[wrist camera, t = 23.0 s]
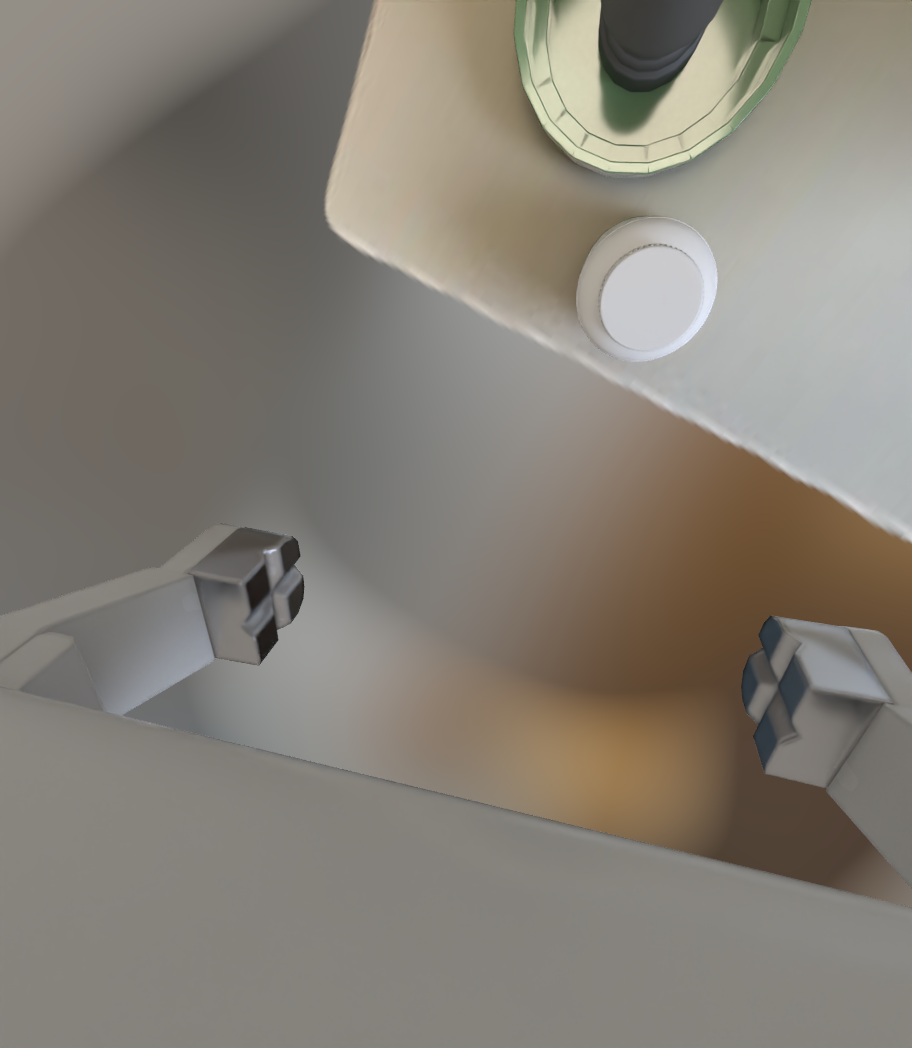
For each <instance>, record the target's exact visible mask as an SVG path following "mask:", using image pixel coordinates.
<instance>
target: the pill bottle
mask: <svg viewBox="0 0 912 1048" xmlns="http://www.w3.org/2000/svg"><path fill="white" fill-rule="evenodd" d="M717 284H718V274H717V266H716V262H715V258H714V255H713V253H712V251H711V249H710V247H709V245H708V243H707V242H706V241H705V239H704V238H703V237H702V236H701V235H700V234H699V233H698V232H697V231H696V230H695V229H694V228H692V227H691V226H689V225H688V224H686V223H684V222H682V221H679V220H676V219H673V218H668V217H661V216H641V217H634V218H630V219H627V220H624V221H622V222H620V223H618V224H616V225H614V226H613V227H611V228H610V229H609V230H607V231H606V232H605V233H604V234H603V235H602V236H601V237H600V238H599V239H598V240H597V242H596V243H595V244H594V246H593V247H592V249H591V251H590V252H589V254H588V256H587V259H586V261H585V263H584V266H583V268H582V271H581V273H580V277H579V280H578V285H577V292H576V306H577V313H578V317H579V321H580V323H581V326H582V328H583V330H584V332H585V334H586V335H587V337H588V338H589V339H590V341H591V342H592V343H593V344H594V345H595V346H596V347H597V348H598V349H600V350H601V351H603V352H604V353H606V354H608V355H610V356H612V357H614V358H617V359H620V360H625V361H633V362H641V361H649V360H654V359H658V358H661V357H663V356H666V355H668V354H670V353H672V352H674V351H676V350H677V349H679V348H680V347H682V346H683V345H684V344H686V343H687V342H688V341H689V340H690V339H691V338H692V337H693V336H694V335H695V334H696V333H697V332H698V331H699V330H700V328H701V327H702V325H703V324H704V322H705V321H706V319H707V317H708V316H709V314H710V311H711V309H712V307H713V304H714V301H715V297H716V292H717Z"/></svg>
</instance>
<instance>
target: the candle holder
mask: <svg viewBox="0 0 912 1048" xmlns="http://www.w3.org/2000/svg"><path fill="white" fill-rule="evenodd" d="M722 2H723V0H601V12H600V21H599V30H598V46H599V50H600V55H601V60H602V65H603V68H604V69H605V71H606V72H607V74H608V75H609V76H610V78H611V79H612V81H613V82H614V84H616V85H618V86H620V87H622V88H624V89H626V90H628V91H630V92H650V91H652V90H654V89H656V88H659V87H661V86H663V85H665V84H667V83H669V82H670V81H671V80H672V79H673V78H674V77H675V76H676V75H677V74H678V73H679V72H680V71H681V70H682V69H683V68H684V67H685V66H686V65H687V63H688V61H689V60H690V58H691V56H692V55H693V53H694V52H695V50H696V48H697V46H698V44H699V42H700V40H701V38H702V36H703V34H704V32H705V30H706V28H707V26H708V24H709V23H710V22H711V21H712V20H713V19H714V17H715V15H716V13H717V11H718V10H719V8H720V6H721V4H722Z"/></svg>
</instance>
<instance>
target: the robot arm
mask: <svg viewBox="0 0 912 1048" xmlns="http://www.w3.org/2000/svg"><path fill="white" fill-rule="evenodd" d="M299 557H300V551H299V545H298V541H297V540H296V539H295V538H294V537H293V536H289V535H284V534H278V533H273V532H268V531H262V530H257V529H252V528H246V527H245V528H243V527H241V526H234V525H228V524H222V523H221V524H214V525H212V526H211V527H210V528H208V529H207V530H206V531H205V532H203V533H202V534H201V535H200V536H198V537H197V538H196V539H195V540H193V541H192V542H191V543H190V544H188V545H187V546H186V547H185V548H183V549H182V550H181V551H180V552H178V553H177V554H176V555H175V556H173V557H172V558H171V559H170V560H168V561H167V562H166V563H165V564H163V565H162V566H161V567H160V568H158V569H157V568H151V567H150V568H147V569H144V570H140V571H138V572H134V573H131V574H128V575H125V576H122V577H119V578H116V579H112V580H109V581H106V582H103V583H100V584H97V585H94V586H91V587H88V588H84V589H81V590H78V591H75V592H72V593H69V594H66V595H63V596H60V597H56V598H54V599H50V600H47V601H44V602H41V603H38V604H35V605H32V606H28V607H25V608H22V609H19V610H16V611H13V612H10V613H7V614H4V615H1V616H0V1048H912V907H908V906H903V905H899V904H896V903H891V902H887V901H883V900H879V899H875V898H871V897H866V896H863V895H858V894H854V893H850V892H846V891H842V890H838V889H834V888H830V887H826V886H821V885H818V884H813V883H809V882H805V881H801V880H797V879H793V878H789V877H785V876H781V875H776V874H772V873H768V872H764V871H760V870H756V869H752V868H747V867H743V866H739V865H735V864H731V863H727V862H723V861H719V860H715V859H710V858H706V857H702V856H698V855H694V854H690V853H686V852H682V851H678V850H673V849H669V848H665V847H661V846H657V845H653V844H649V843H645V842H640V841H636V840H632V839H628V838H624V837H620V836H616V835H612V834H607V833H603V832H599V831H595V830H591V829H587V828H582V827H579V826H574V825H570V824H566V823H562V822H558V821H554V820H550V819H545V818H541V817H537V816H533V815H529V814H525V813H521V812H517V811H513V810H508V809H504V808H500V807H496V806H492V805H488V804H484V803H480V802H476V801H471V800H467V799H463V798H459V797H454V796H451V795H446V794H443V793H438V792H434V791H430V790H426V789H422V788H418V787H413V786H409V785H405V784H401V783H397V782H393V781H389V780H385V779H381V778H377V777H372V776H368V775H364V774H360V773H356V772H352V771H348V770H344V769H339V768H335V767H331V766H327V765H323V764H319V763H315V762H311V761H306V760H302V759H298V758H294V757H290V756H286V755H282V754H277V753H273V752H269V751H265V750H261V749H257V748H253V747H249V746H245V745H241V744H236V743H232V742H228V741H224V740H220V739H215V738H212V737H207V736H203V735H199V734H195V733H191V732H187V731H183V730H178V729H175V728H170V727H166V726H162V725H158V724H154V723H149V722H145V721H141V720H137V719H133V718H129V717H125V716H121V715H123V714H125V713H126V712H128V711H130V710H132V709H133V708H135V707H137V706H138V705H140V704H142V703H143V702H145V701H147V700H148V699H150V698H152V697H153V696H155V695H157V694H159V693H160V692H162V691H164V690H165V689H167V688H169V687H170V686H172V685H174V684H176V683H177V682H179V681H180V680H182V679H184V678H186V677H187V676H189V675H191V674H192V673H194V672H196V671H197V670H199V669H201V668H202V667H204V666H206V665H208V664H209V663H211V662H213V661H214V660H215V658H220V659H225V660H230V661H236V662H242V663H247V664H253V665H258V666H259V665H260V664H261V662H262V661H263V660H264V658H265V657H266V656H267V654H268V653H269V652H270V651H271V649H272V648H273V647H274V645H275V644H276V643H277V641H278V635H277V630H278V629H280V628H283V627H285V626H287V625H289V624H290V623H291V622H292V621H293V620H294V618H295V617H296V615H297V614H298V612H299V609H300V606H301V604H302V601H303V595H304V580H303V575H302V574H301V573H300V571H299V570H298V569H297V568H296V566H295V565H294V564H295V563H296V561H297V560H298V559H299ZM759 638H760V640H761V643H762V646H763V648H761V649H760V650H758V651H756V652H754V653H753V654H751V655H750V656H749V658H748V660H747V663H746V666H745V668H744V670H743V678H742V686H741V688H742V699H743V703H744V707H745V711H746V713H747V714H748V715H749V716H750V717H751V718H752V719H753V720H754V721H755V722H756V723H757V724H758V727H757V729H756V731H755V733H754V735H753V738H754V740H755V744H756V747H757V750H758V754H759V757H760V760H761V764H762V767H763V770H764V773H765V774H769V775H773V776H778V777H782V778H786V779H790V780H794V781H798V782H803V783H807V784H811V785H815V786H820V787H824V788H827V790H826V791H827V792H828V794H829V795H830V796H831V797H832V798H833V799H834V800H835V802H836V803H837V804H838V805H839V806H840V807H841V808H842V810H843V811H844V812H845V813H846V814H847V815H848V817H849V818H850V819H851V820H852V821H853V822H854V823H855V824H856V826H857V827H858V828H859V829H860V830H861V831H862V833H863V834H864V835H865V836H866V837H867V838H868V839H869V841H870V842H871V843H872V844H873V845H874V846H875V847H876V848H877V850H878V851H879V852H880V853H881V854H882V855H883V856H884V858H885V859H886V860H887V861H888V862H889V863H890V865H891V866H892V867H893V868H894V869H895V870H896V871H897V873H898V874H899V875H900V876H901V877H902V878H903V879H904V880H905V882H906V883H907V884H908V885H909V886H910V887H911V889H912V673H911V671H910V670H909V669H908V667H907V666H906V664H905V663H904V661H903V660H902V658H901V657H900V655H899V654H898V653H897V651H896V650H895V648H894V647H893V645H892V644H891V642H890V641H889V639H888V638H887V637H886V636H885V635H883V634H881V633H880V632H878V631H874V630H867V629H860V628H852V627H845V626H840V627H839V626H833V625H826V624H819V623H813V622H807V621H800V620H794V619H787V618H781V617H775V616H770V617H769V618H768V619H767V620H766V621H765V622H764V624H763V626H762V628H761V631H760V633H759Z"/></svg>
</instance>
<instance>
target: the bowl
mask: <svg viewBox="0 0 912 1048" xmlns="http://www.w3.org/2000/svg"><path fill="white" fill-rule="evenodd" d="M810 4H811V0H723V2H722V4H721V6H720V8H719V10H718V11H717V13H716V15H715V17H714V19H713V20H712V21H711V22H710V23H709V24H708V26H707V28H706V30H705V32H704V34H703V36H702V38H701V40H700V42H699V44H698V46H697V48H696V50H695V52H694V53H693V55H692V56H691V58H690V60H689V61H688V63H687V65H686V66H685V67H684V68H683V69H682V70H681V71H680V72H679V73H678V74H677V75H676V76H675V77H674V78H673V79H672V80H671V81H670V82H669V83H667V84H665V85H663V86H661V87H659V88H656V89H654V90H652V91H650V92H630V91H628V90H626V89H624V88H622V87H620V86H618V85H616V84H614V82H613V81H612V79H611V78H610V76H609V75H608V74H607V72H606V71H605V69H604V68H603V65H602V60H601V55H600V50H599V46H598V30H599V21H600V12H601V0H516V11H515V24H514V39H515V45H516V51H517V57H518V63H519V69H520V74H521V80H522V86H523V88H524V90H525V93H526V95H527V97H528V99H529V101H530V103H531V105H532V107H533V109H534V111H535V113H536V115H537V117H538V119H539V122H540V124H541V126H542V127H543V129H544V131H545V132H546V134H547V135H548V137H549V138H550V139H551V140H552V141H553V142H554V143H555V144H556V145H557V146H558V147H559V148H560V149H561V150H562V151H563V152H564V153H565V154H566V155H567V156H568V157H569V158H570V159H571V160H572V161H573V162H575V163H576V164H578V165H580V166H583V167H585V168H587V169H589V170H592V171H594V172H596V173H598V174H601V175H603V176H607V177H622V178H645V177H648V176H651V175H655V174H658V173H661V172H664V171H667V170H670V169H674V168H677V167H680V166H682V165H684V164H685V163H687V162H689V161H691V160H693V159H694V158H696V157H697V156H698V155H700V154H701V153H703V152H704V151H706V150H707V149H709V148H710V147H712V146H713V145H715V144H716V143H718V142H719V141H720V140H722V139H723V138H725V137H726V136H728V135H729V134H731V133H732V132H733V131H734V130H735V129H736V128H737V127H738V126H739V125H740V124H741V123H742V122H743V120H744V119H745V118H746V117H747V116H748V115H749V114H750V112H751V111H752V110H753V109H754V108H755V107H756V106H757V105H758V103H759V102H760V101H761V100H762V99H763V98H764V97H765V96H766V94H767V93H768V92H769V91H770V90H771V88H772V87H773V85H774V84H775V82H776V80H777V78H778V76H779V74H780V73H781V71H782V69H783V67H784V65H785V63H786V62H787V60H788V58H789V56H790V54H791V52H792V51H793V49H794V47H795V45H796V43H797V41H798V39H799V38H800V36H801V34H802V31H803V29H804V25H805V21H806V18H807V14H808V11H809V7H810Z"/></svg>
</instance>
